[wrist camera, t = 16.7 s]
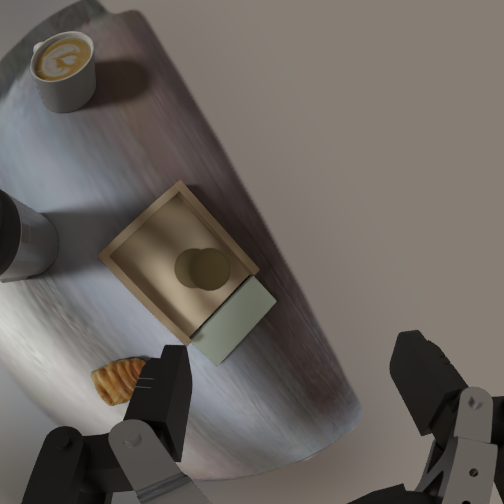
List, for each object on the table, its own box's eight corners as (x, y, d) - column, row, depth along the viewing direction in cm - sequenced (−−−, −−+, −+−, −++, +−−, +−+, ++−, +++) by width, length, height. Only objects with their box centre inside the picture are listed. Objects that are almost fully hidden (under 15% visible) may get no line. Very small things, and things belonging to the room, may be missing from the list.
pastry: (136, 345, 44) (137, 351, 40) (159, 380, 45) (162, 389, 41) (87, 371, 40) (85, 380, 37) (111, 405, 41) (111, 416, 38)
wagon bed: (182, 341, 46) (186, 346, 43) (99, 256, 42) (97, 255, 39) (251, 269, 51) (260, 269, 48) (176, 185, 47) (180, 179, 43)
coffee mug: (106, 90, 42) (105, 56, 33) (57, 124, 39) (45, 94, 30) (72, 47, 39) (68, 12, 30) (27, 77, 36) (14, 45, 27)
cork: (171, 285, 45) (183, 291, 34) (177, 244, 45) (192, 238, 35) (210, 291, 47) (233, 298, 37) (216, 252, 48) (241, 248, 37)
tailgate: (188, 340, 46) (215, 364, 48) (190, 341, 45) (217, 366, 47) (250, 275, 51) (273, 300, 52) (253, 275, 50) (276, 301, 51)
